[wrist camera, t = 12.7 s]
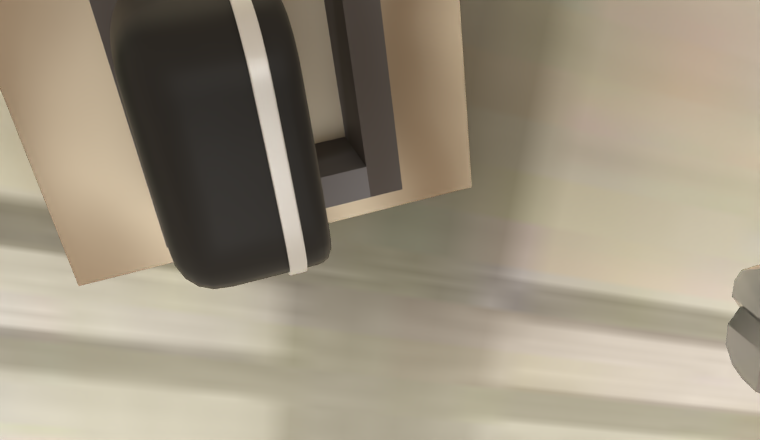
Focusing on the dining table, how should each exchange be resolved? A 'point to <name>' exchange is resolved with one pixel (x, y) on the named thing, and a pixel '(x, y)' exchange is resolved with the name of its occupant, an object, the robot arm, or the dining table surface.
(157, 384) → the dining table surface
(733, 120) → the dining table surface
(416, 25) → the dock
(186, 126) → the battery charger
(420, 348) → the dining table surface
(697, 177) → the dining table surface
